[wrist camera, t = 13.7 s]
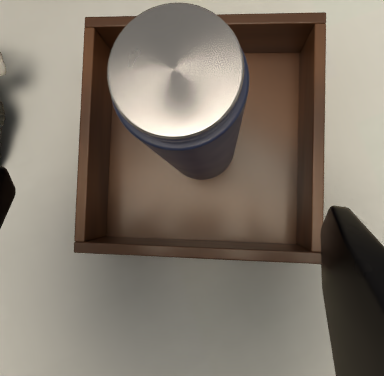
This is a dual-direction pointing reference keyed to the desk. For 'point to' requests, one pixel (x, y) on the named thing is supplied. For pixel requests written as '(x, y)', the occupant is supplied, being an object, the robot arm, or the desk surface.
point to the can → (181, 86)
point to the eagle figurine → (0, 71)
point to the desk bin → (231, 177)
